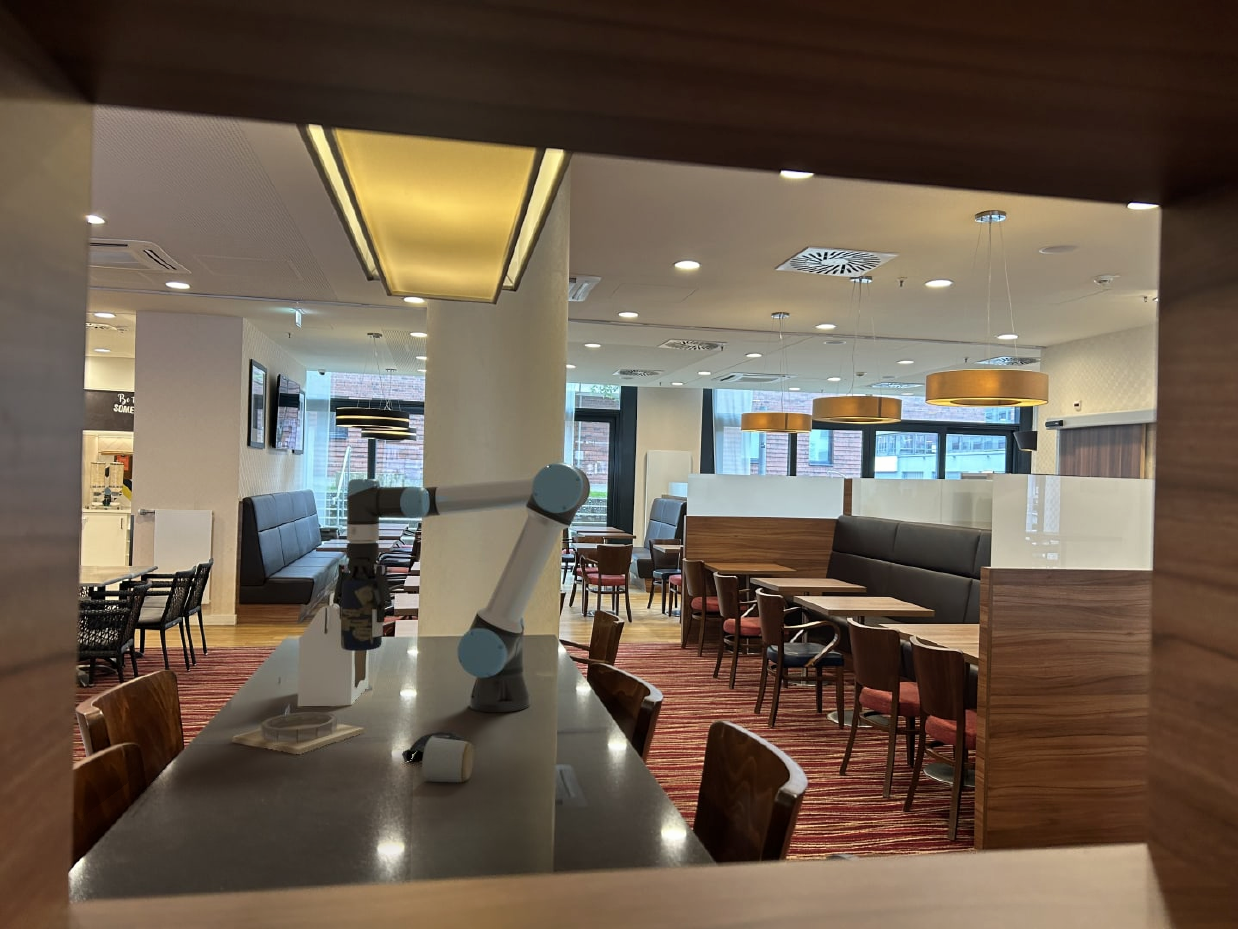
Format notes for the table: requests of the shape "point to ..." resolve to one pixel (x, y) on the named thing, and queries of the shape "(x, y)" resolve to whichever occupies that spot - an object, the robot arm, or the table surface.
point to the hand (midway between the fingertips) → (361, 634)
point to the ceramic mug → (447, 760)
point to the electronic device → (423, 741)
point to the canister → (358, 615)
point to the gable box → (329, 663)
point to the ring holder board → (297, 745)
